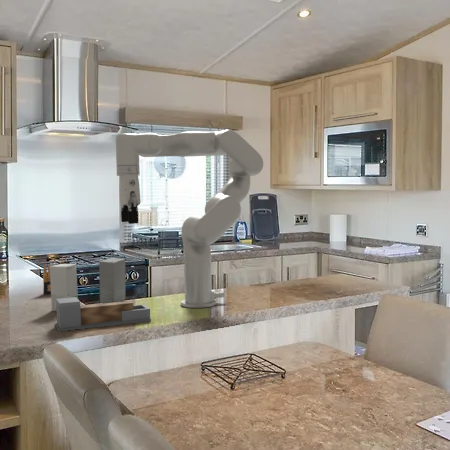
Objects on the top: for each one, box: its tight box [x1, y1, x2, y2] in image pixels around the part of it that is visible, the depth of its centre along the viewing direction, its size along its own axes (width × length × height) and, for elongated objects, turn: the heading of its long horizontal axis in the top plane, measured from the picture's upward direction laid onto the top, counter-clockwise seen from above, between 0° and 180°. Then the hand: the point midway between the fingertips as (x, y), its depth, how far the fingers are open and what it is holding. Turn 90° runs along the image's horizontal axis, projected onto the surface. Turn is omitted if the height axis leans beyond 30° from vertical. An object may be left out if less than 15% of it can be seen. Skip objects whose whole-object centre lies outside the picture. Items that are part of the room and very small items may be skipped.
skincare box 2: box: [98, 257, 126, 304], centre depth 206 cm, size 8×7×16 cm
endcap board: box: [54, 297, 152, 333], centre depth 174 cm, size 28×9×8 cm, turn 114°
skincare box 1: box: [50, 263, 79, 312], centre depth 195 cm, size 8×7×16 cm
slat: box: [80, 300, 134, 324], centre depth 174 cm, size 19×4×5 cm, turn 114°
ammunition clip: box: [42, 262, 69, 296], centre depth 225 cm, size 11×2×12 cm, turn 111°
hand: (129, 222), depth 187 cm, fingers open, 9 cm apart
